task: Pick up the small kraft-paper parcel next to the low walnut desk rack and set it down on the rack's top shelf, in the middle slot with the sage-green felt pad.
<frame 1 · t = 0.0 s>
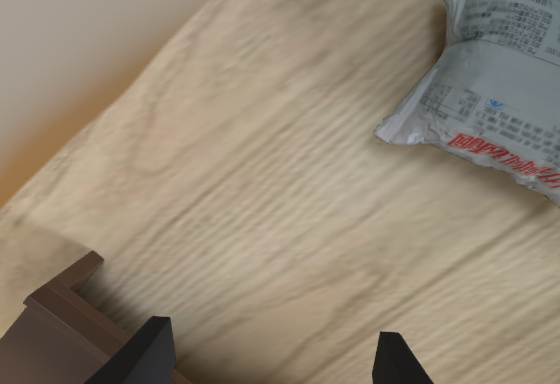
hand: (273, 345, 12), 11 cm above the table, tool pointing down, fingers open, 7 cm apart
packaged food: (493, 106, 20), on the table
rack: (168, 377, 25), on the table
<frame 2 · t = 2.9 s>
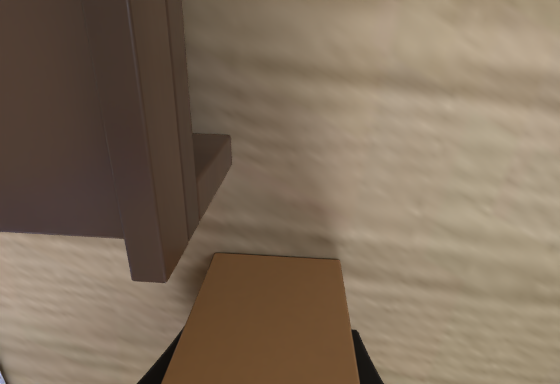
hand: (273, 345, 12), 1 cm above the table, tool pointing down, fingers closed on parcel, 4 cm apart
parcel: (275, 315, 13), on the table, touching gripper
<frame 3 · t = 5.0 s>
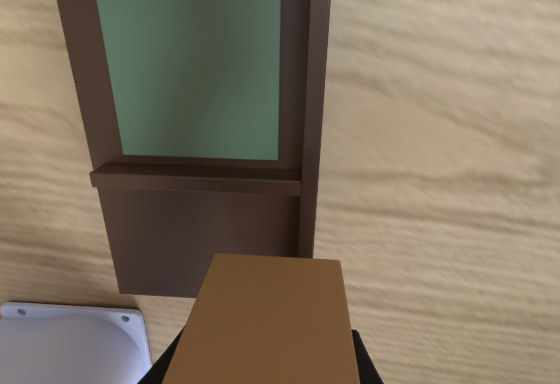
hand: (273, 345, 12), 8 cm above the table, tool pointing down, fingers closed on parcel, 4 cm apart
parcel: (275, 315, 13), point 7 cm above the table, touching gripper
rack: (222, 67, 16), on the table
when the fingers open (6 cm above the table, at t = 7.0 s): parcel stays where it is, resting on rack.
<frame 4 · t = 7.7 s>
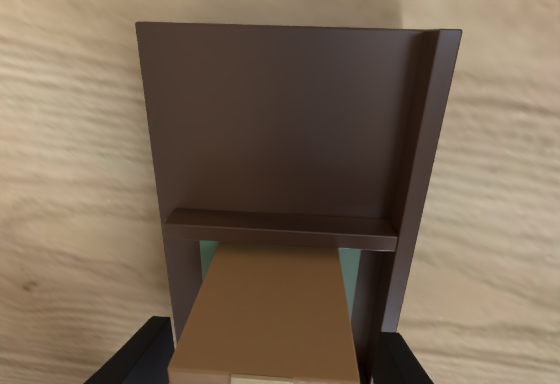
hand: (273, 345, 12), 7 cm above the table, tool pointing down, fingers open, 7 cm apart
parcel: (276, 301, 14), point 5 cm above the table, touching rack
rack: (283, 239, 18), on the table
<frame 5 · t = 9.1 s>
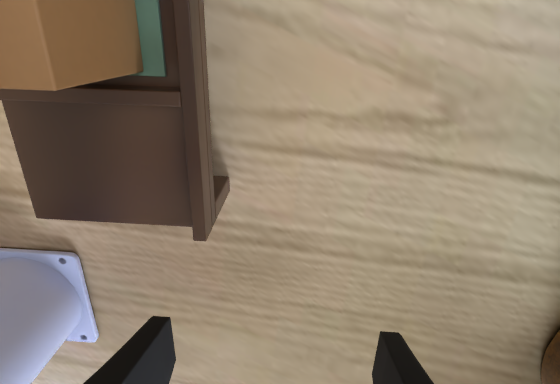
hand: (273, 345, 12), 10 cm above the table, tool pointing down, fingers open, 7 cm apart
rack: (134, 3, 17), on the table
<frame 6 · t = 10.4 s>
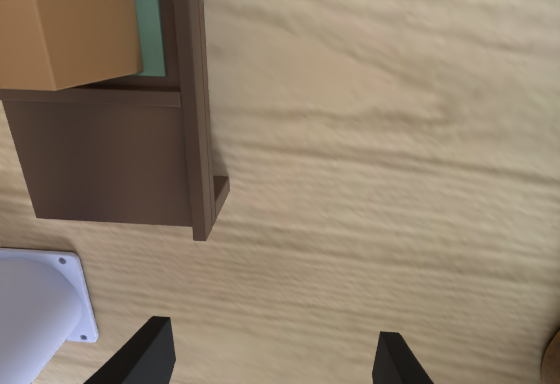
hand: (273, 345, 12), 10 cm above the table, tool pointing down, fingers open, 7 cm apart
rack: (134, 3, 17), on the table
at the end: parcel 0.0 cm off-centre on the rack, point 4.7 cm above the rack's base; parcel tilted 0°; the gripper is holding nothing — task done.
